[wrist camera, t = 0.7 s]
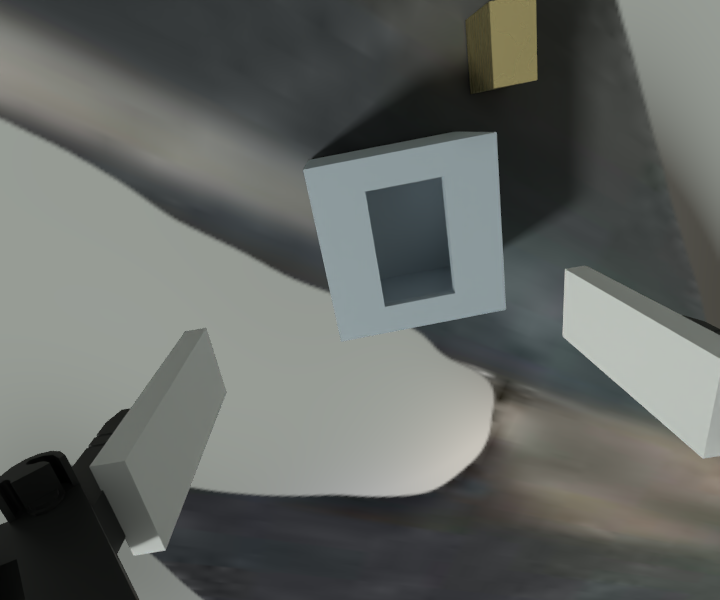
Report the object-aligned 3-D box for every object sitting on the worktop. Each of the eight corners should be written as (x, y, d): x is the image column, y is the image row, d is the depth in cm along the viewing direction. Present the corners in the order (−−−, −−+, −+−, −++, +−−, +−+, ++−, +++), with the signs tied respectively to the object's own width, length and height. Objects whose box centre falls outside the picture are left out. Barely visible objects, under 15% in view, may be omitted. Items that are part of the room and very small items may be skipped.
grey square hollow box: (308, 159, 34) (303, 169, 26) (455, 131, 34) (496, 132, 26) (338, 296, 39) (341, 341, 30) (467, 270, 39) (505, 309, 30)
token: (465, 20, 31) (489, 1, 27) (505, 12, 31) (535, -8, 27) (470, 94, 33) (493, 88, 29) (508, 86, 33) (537, 80, 29)
